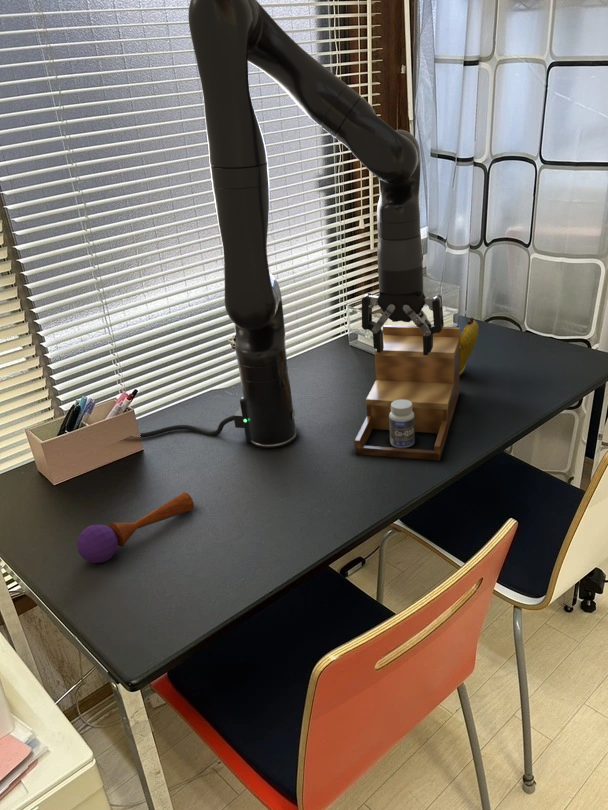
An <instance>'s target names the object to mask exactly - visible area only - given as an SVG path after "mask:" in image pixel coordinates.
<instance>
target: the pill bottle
mask: <svg viewBox="0 0 608 810" xmlns="http://www.w3.org/2000/svg"><path fill="white" fill-rule="evenodd" d="M389 422H390V430H389V442H390V445H391V446H392V447H393V448H405V449H408V448H410V447H413V446H414V444H415V442H416V437H415V435H416V434H415V433H416V432H415V425H414V424H415V423H414V412H413V411H412V402H411V401H409V400H403V399H401V400H395V401H393V402H392V403H391V412H390V415H389Z"/></svg>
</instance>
